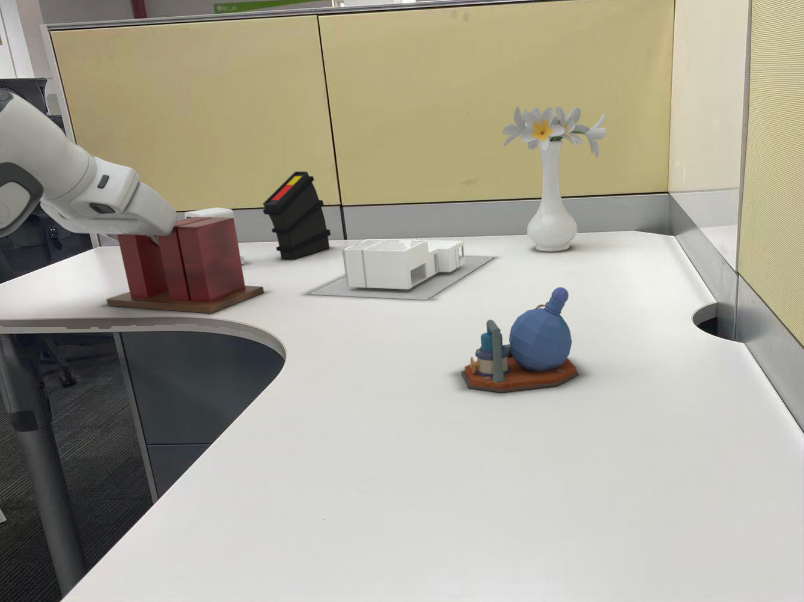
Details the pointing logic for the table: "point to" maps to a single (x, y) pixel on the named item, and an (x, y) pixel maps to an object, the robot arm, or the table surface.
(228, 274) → the book rack
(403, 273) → the house
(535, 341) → the model
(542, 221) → the flower vase
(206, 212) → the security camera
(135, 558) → the table surface
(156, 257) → the book
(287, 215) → the magazine
